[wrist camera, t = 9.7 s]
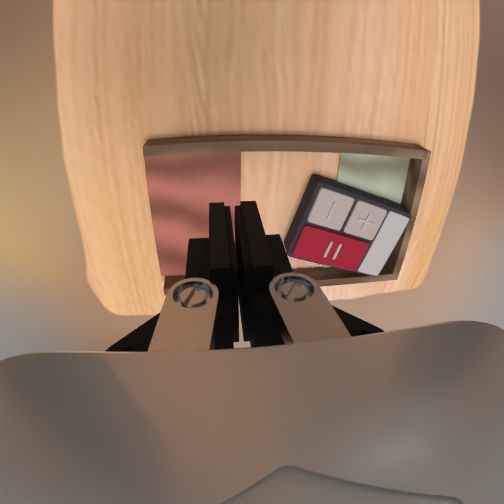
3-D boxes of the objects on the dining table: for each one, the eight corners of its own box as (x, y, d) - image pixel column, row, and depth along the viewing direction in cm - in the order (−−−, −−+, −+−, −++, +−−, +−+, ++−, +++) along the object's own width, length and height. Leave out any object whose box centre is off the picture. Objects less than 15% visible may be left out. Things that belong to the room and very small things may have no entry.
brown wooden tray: (142, 140, 35) (137, 147, 32) (419, 144, 38) (430, 151, 36) (162, 282, 46) (160, 295, 44) (389, 268, 50) (397, 279, 48)
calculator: (319, 183, 36) (415, 218, 40) (311, 171, 40) (402, 204, 43) (286, 259, 42) (379, 281, 45) (282, 242, 46) (369, 264, 49)
